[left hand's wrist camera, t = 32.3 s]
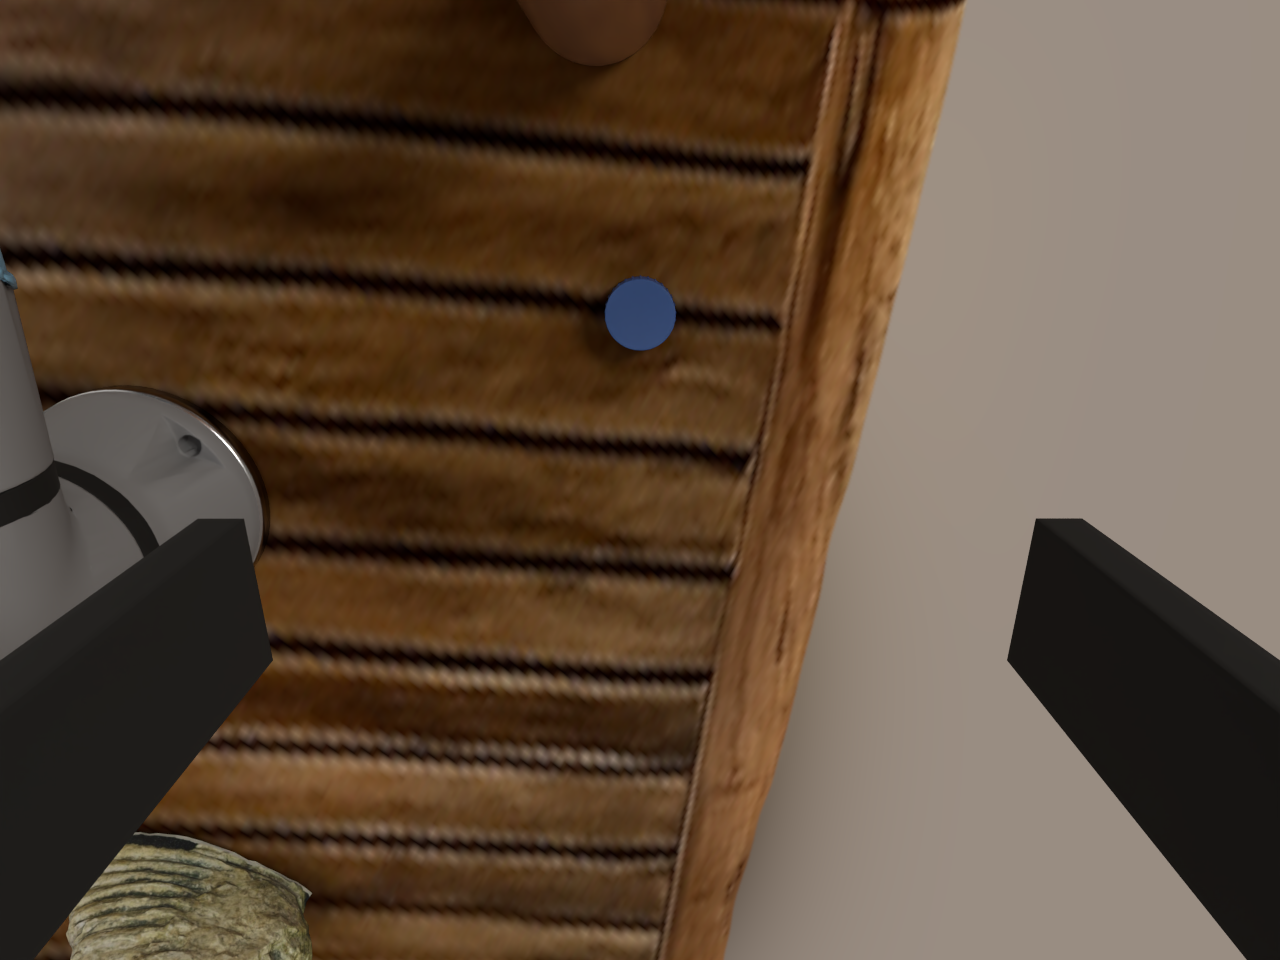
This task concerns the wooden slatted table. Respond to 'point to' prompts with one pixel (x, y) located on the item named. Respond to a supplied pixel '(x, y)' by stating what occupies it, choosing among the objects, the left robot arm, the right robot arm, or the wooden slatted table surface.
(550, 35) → the bottle
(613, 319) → the cap
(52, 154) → the wooden slatted table surface
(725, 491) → the wooden slatted table surface
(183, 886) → the fossil
